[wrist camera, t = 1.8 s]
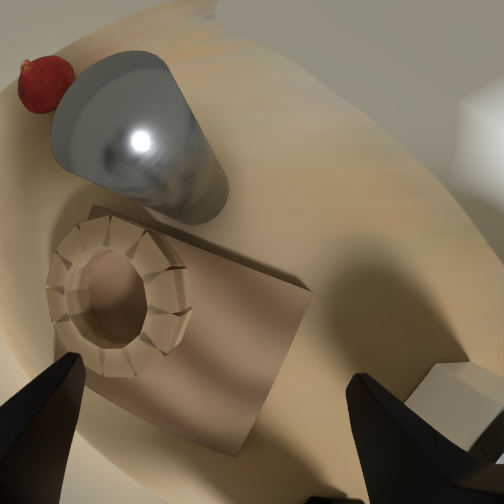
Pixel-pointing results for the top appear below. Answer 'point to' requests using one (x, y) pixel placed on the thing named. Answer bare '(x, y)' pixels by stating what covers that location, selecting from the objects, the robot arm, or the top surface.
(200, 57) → the top surface
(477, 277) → the top surface
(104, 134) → the chrome metal cylinder
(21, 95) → the pomegranate
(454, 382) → the jar
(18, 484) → the robot arm
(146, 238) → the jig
